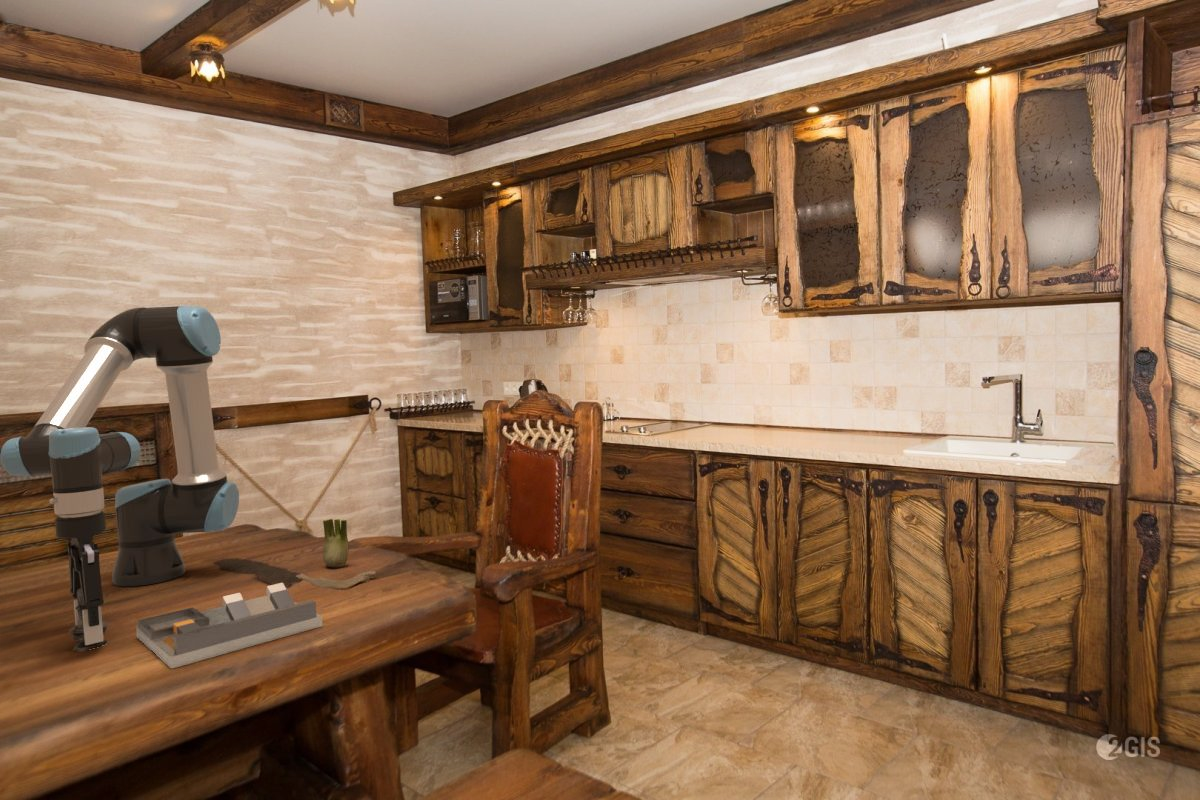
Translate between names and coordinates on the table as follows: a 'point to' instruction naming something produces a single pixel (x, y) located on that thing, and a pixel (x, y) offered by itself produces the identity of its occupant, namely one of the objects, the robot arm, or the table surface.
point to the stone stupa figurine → (79, 628)
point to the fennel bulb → (335, 543)
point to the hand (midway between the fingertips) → (89, 637)
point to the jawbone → (337, 584)
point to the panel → (223, 630)
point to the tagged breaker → (185, 626)
